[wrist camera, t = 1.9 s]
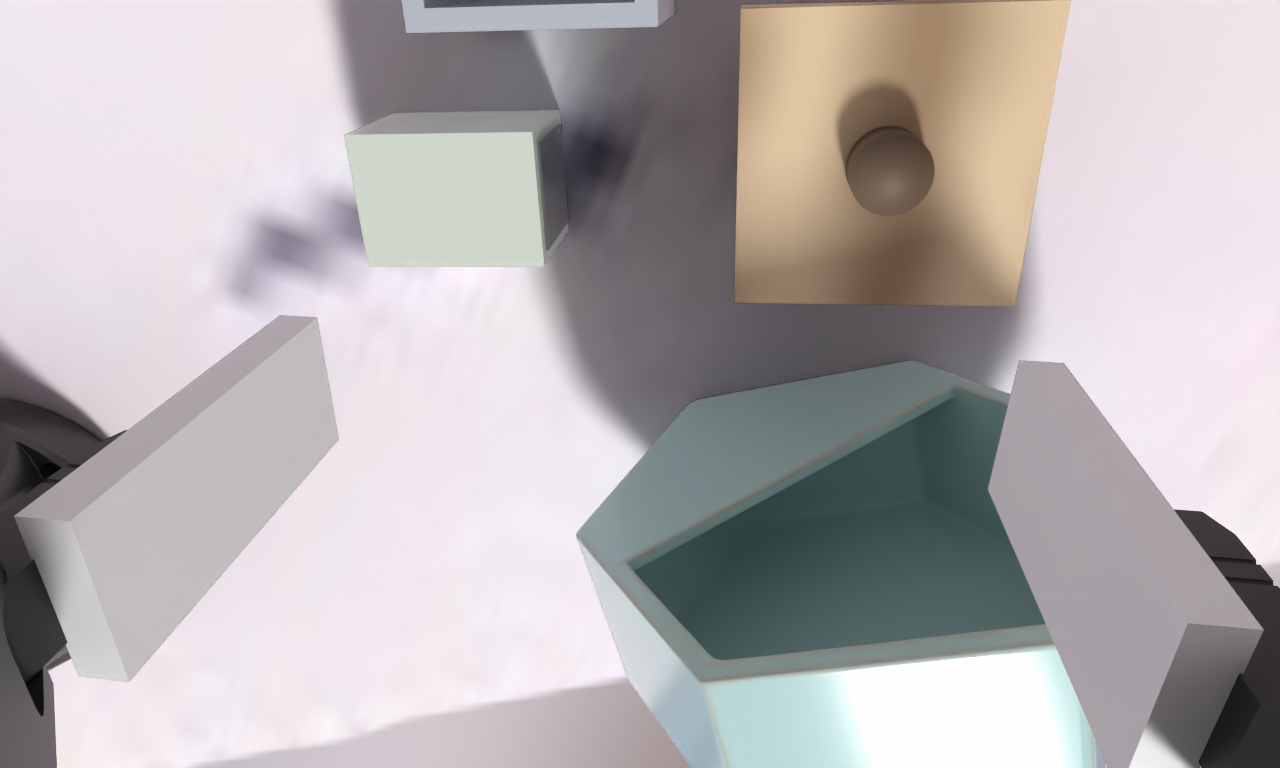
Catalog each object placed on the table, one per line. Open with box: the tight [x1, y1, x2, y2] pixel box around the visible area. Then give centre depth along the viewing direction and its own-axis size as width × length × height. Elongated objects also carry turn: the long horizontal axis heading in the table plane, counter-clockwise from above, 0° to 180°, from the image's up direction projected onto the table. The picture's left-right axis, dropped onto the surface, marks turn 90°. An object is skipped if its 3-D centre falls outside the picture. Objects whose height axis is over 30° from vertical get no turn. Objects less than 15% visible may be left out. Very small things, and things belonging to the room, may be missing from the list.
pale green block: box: [344, 110, 569, 267], centre depth 33 cm, size 7×5×5 cm
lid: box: [734, 0, 1071, 306], centre depth 26 cm, size 9×9×3 cm
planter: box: [576, 360, 1105, 768], centre depth 32 cm, size 17×8×21 cm
